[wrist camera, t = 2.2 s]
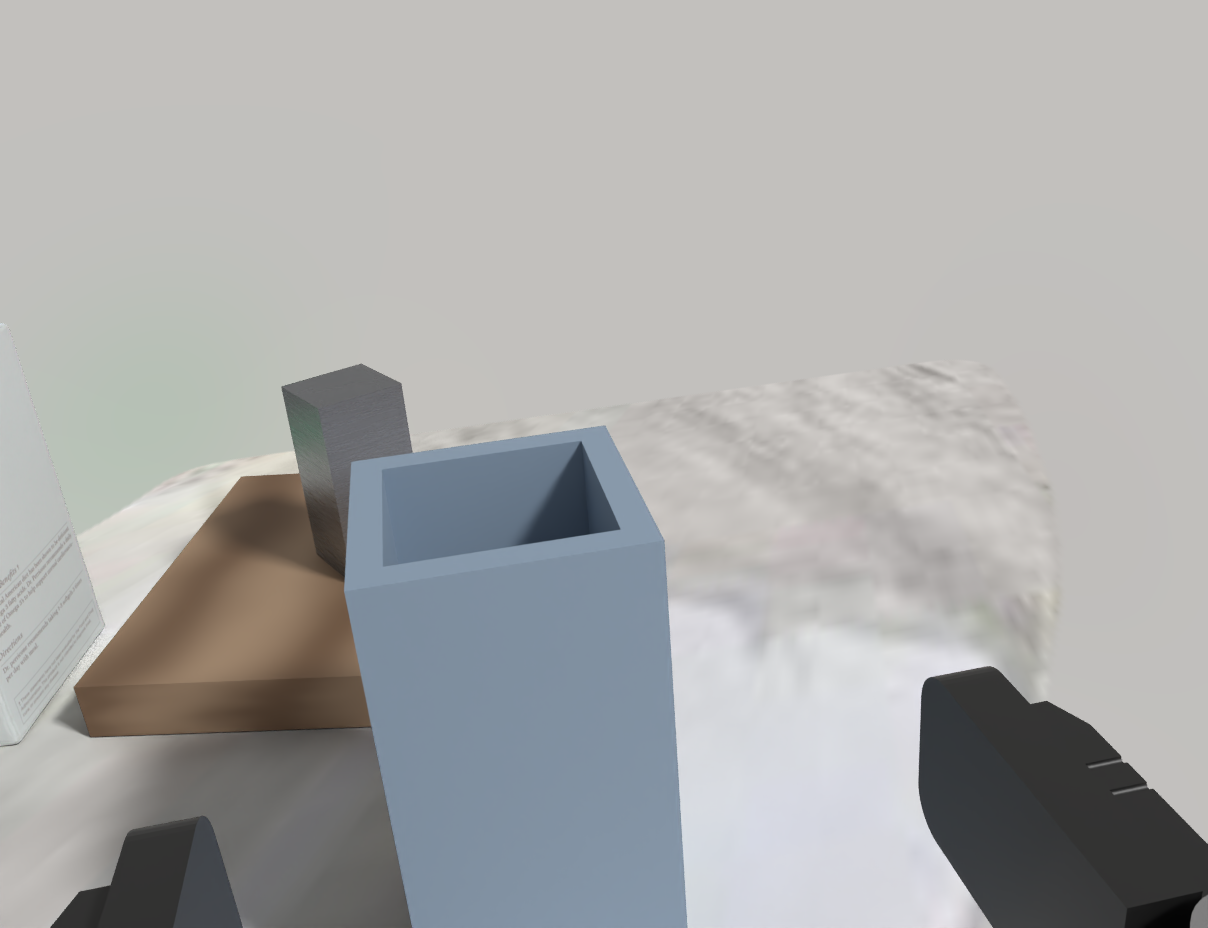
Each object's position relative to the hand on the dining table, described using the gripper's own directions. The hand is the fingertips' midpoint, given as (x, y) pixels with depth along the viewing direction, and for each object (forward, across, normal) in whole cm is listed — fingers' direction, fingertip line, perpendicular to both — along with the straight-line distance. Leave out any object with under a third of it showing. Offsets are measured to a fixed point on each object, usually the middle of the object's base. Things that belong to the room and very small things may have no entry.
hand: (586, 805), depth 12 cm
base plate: (+29, +4, +13) cm, 32 cm away
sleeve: (+12, 0, +13) cm, 18 cm away
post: (+29, +4, +11) cm, 31 cm away
